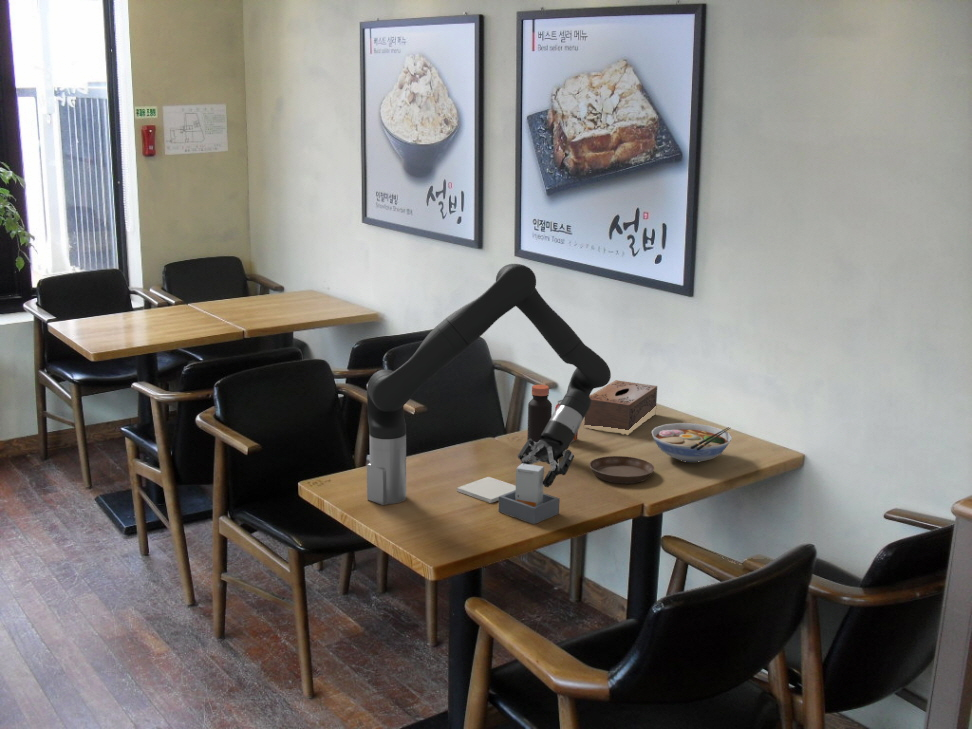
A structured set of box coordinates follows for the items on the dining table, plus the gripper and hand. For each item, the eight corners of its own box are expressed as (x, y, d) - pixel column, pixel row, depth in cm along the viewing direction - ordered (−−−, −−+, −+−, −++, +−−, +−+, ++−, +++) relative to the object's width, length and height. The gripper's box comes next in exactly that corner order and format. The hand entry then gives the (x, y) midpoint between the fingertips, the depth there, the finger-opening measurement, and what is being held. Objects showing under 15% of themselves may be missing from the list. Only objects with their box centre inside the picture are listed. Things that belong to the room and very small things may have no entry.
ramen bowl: (673, 440, 327) (674, 414, 325) (744, 456, 314) (746, 429, 312) (633, 462, 307) (635, 434, 306) (708, 479, 295) (710, 450, 293)
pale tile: (490, 503, 275) (490, 499, 275) (457, 491, 283) (457, 487, 283) (521, 491, 284) (521, 487, 283) (488, 480, 291) (488, 476, 291)
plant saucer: (605, 461, 309) (605, 451, 308) (663, 472, 300) (664, 462, 299) (578, 479, 294) (578, 468, 293) (639, 491, 285) (639, 480, 285)
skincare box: (514, 513, 268) (515, 467, 265) (520, 507, 272) (521, 462, 269) (537, 517, 266) (538, 471, 263) (543, 511, 270) (544, 466, 267)
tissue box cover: (627, 436, 332) (629, 405, 329) (584, 429, 338) (585, 398, 336) (655, 415, 354) (657, 386, 351) (614, 409, 360) (615, 380, 358)
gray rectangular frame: (534, 524, 262) (534, 508, 261) (498, 511, 270) (498, 496, 269) (559, 513, 269) (559, 498, 268) (523, 501, 276) (524, 486, 275)
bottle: (555, 454, 313) (557, 387, 308) (536, 458, 309) (538, 391, 305) (541, 448, 319) (542, 382, 314) (522, 452, 315) (523, 385, 310)
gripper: (534, 413, 276) (503, 467, 270) (578, 425, 266) (547, 481, 261) (547, 429, 281) (517, 481, 275) (590, 441, 271) (560, 496, 266)
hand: (531, 481), depth 268 cm, fingers open, 8 cm apart
